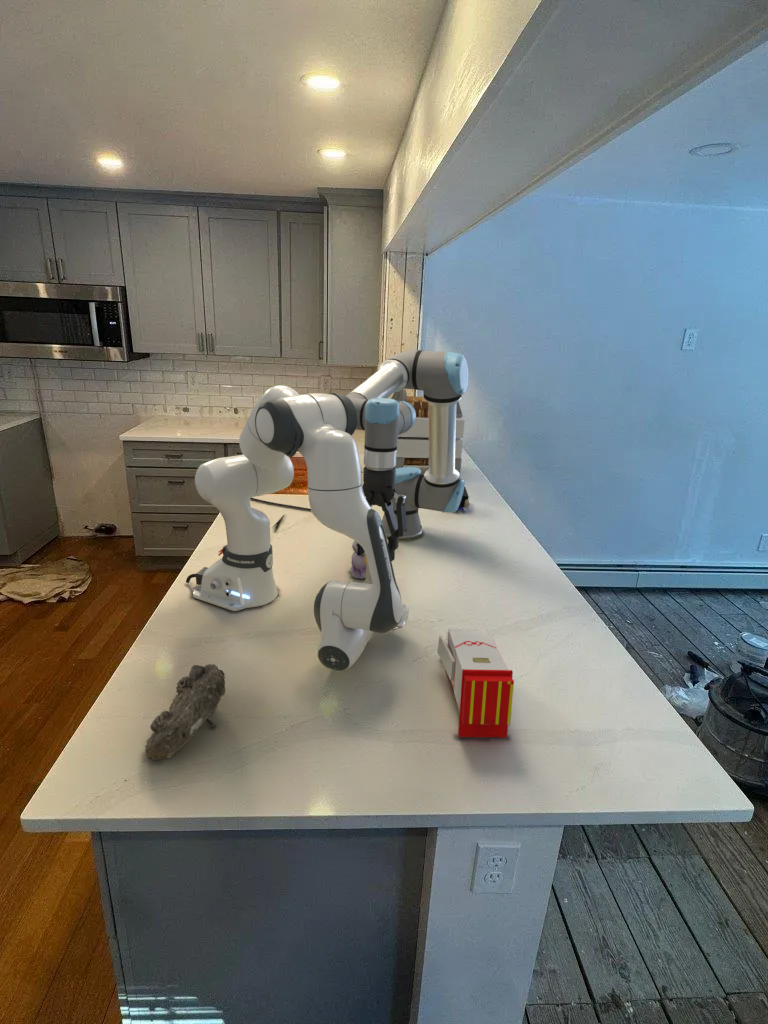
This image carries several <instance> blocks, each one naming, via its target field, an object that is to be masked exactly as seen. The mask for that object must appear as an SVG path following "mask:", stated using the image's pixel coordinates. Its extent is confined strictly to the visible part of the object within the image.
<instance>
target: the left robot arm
mask: <svg viewBox="0 0 768 1024" xmlns="http://www.w3.org/2000/svg"><path fill="white" fill-rule="evenodd" d="M356 426H357V412H356V409H355V406H354V404H353V402H352V401H351V400H350V399H349V398H348V397H347V396H346V395H345V394H342V393H336V392H326V393H321V392H319V393H317V392H316V393H315V392H312V393H311V392H310V393H302V394H299V392H297V391H296V390H295V389H293V388H292V387H290V386H287V385H281V384H280V385H274V386H271V387H269V388H268V389H266V390H265V392H264V393H263V394H262V395H261V397H260V398H259V399H258V400H257V401H256V403H255V405H254V406H253V408H252V410H251V412H250V414H249V416H248V418H247V419H246V422H245V424H244V426H243V428H242V431H241V433H240V435H239V440H238V442H239V443H238V444H239V449H240V451H241V454H237V455H231V456H225V457H218V458H215V459H211V460H209V461H207V462H203V463H202V464H200V465H199V467H198V468H197V469H196V472H195V476H194V485H195V489H196V491H197V494H198V495H199V496H200V498H201V499H203V500H204V501H205V502H207V503H208V504H210V505H212V506H214V507H215V508H216V509H217V510H218V511H219V513H220V515H221V516H222V518H223V521H224V526H225V532H226V533H225V534H226V545H224V546H223V547H222V548H221V549H220V550H218V556H221V555H222V557H221V558H220V559H218V560H217V561H216V562H214V563H212V564H211V565H210V566H208V567H207V566H204V567H202V569H199V571H196V572H195V573H191V574H189V575H187V577H186V580H185V583H186V584H189V583H190V582H191V579H193V578H195V584H196V586H195V588H194V589H193V592H192V597H193V598H194V599H197V600H200V601H202V602H205V603H209V604H211V605H215V606H217V607H221V608H223V609H225V610H228V611H232V612H239V611H242V610H244V609H249V608H250V609H251V608H257V607H261V606H265V605H268V604H271V602H273V601H275V600H276V599H277V597H278V595H279V590H278V588H277V585H276V581H275V577H274V572H273V566H274V565H273V564H274V557H273V554H274V553H273V545H272V544H271V521H270V519H269V517H268V516H267V514H266V513H265V512H264V511H262V510H260V509H258V508H254V507H252V506H251V499H250V498H257V497H261V496H266V495H270V494H271V495H272V494H275V493H277V492H280V491H283V490H284V489H286V488H288V487H290V486H291V484H292V483H293V481H294V477H295V468H294V463H293V462H292V460H291V458H293V457H294V456H295V455H296V454H297V452H298V453H299V455H301V456H302V457H303V459H304V461H305V464H306V475H307V476H306V477H307V480H306V481H307V496H308V504H309V508H310V509H311V513H312V515H313V516H314V518H316V520H317V521H318V522H319V523H321V524H322V525H323V526H325V527H326V528H328V529H330V530H332V531H334V532H336V533H339V534H342V535H344V536H346V537H348V538H349V539H351V540H353V541H354V540H355V541H356V542H357V543H359V544H360V545H361V546H362V548H363V549H364V551H365V553H366V556H367V560H368V565H369V569H370V574H371V578H372V583H373V584H366V583H363V582H362V583H361V582H352V581H343V580H342V581H340V580H329V581H328V582H326V583H325V584H323V586H322V587H321V588H320V589H319V591H318V593H317V594H316V596H315V599H314V602H313V616H314V620H315V623H316V625H317V627H318V629H319V631H320V638H319V643H318V647H317V651H316V652H317V653H316V655H317V658H318V660H319V662H320V664H321V665H323V666H324V667H325V668H327V669H329V670H332V671H337V672H343V671H346V670H348V669H350V668H351V667H352V666H353V665H354V664H355V663H356V662H357V661H358V659H359V658H360V657H361V655H362V653H363V652H364V650H365V648H366V645H367V643H368V642H369V641H370V640H371V638H372V636H373V635H374V633H378V634H383V635H385V634H387V633H389V632H391V631H398V630H401V629H403V628H404V627H405V623H406V622H407V621H408V620H409V611H410V610H409V609H410V608H409V606H408V605H407V604H404V603H403V600H402V595H401V593H400V590H399V587H398V584H397V581H396V577H395V572H394V568H393V563H392V562H393V561H392V562H391V557H390V553H389V548H388V538H387V537H386V535H385V531H384V527H383V524H382V518H381V516H380V513H379V512H378V511H376V510H375V509H374V508H372V507H370V505H369V504H368V502H367V500H366V497H365V495H364V492H363V487H362V486H363V473H362V467H361V460H360V455H359V451H358V450H359V449H358V447H357V446H358V445H357V443H356V440H355V438H354V437H353V435H354V433H355V431H356Z"/></svg>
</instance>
